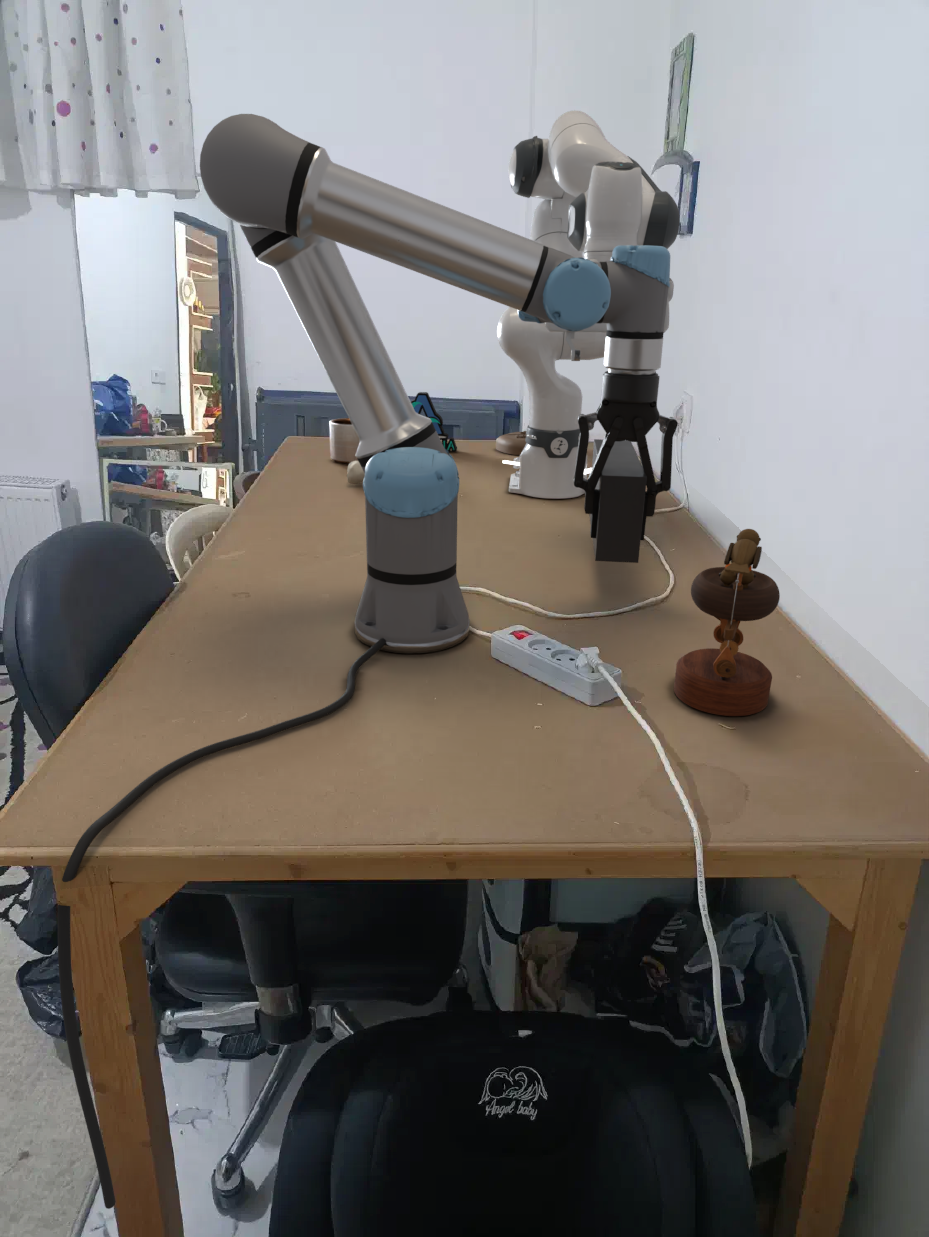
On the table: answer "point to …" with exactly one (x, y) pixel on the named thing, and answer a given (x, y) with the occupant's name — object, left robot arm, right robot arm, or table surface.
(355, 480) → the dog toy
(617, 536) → the box
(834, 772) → the table surface
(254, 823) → the table surface
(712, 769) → the table surface
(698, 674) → the music box
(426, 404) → the decorative sign
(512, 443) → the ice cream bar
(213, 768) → the table surface
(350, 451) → the planter
